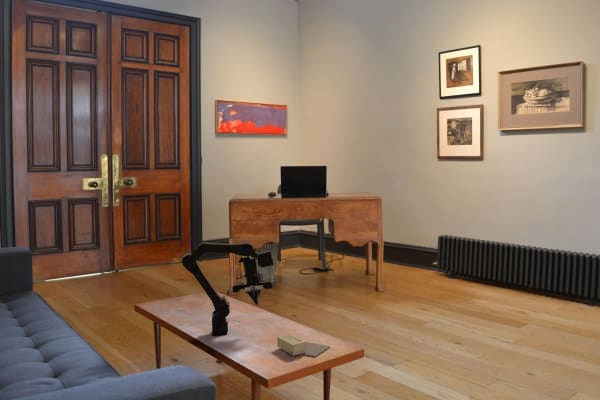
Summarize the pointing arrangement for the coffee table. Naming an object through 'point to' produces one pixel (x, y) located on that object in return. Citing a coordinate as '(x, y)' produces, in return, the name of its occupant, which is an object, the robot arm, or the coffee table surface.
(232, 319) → the coffee table surface
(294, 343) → the skincare box
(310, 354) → the mat
